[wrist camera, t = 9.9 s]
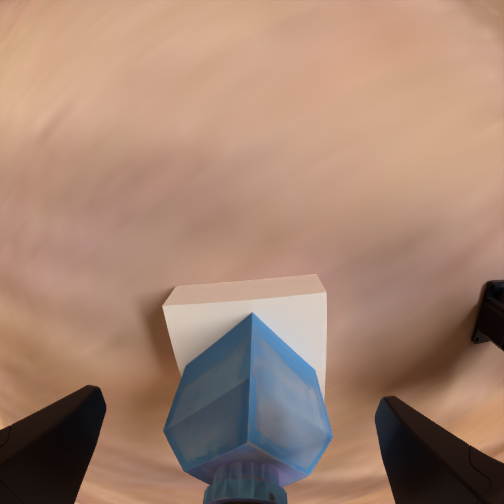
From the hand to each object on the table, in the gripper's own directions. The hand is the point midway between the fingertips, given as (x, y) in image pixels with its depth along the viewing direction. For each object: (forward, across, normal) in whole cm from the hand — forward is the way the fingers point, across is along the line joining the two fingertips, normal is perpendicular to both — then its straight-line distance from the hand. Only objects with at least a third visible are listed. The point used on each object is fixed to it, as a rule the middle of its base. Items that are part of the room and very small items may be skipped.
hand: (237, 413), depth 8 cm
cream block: (+14, 0, +6) cm, 15 cm away
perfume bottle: (+10, 0, +6) cm, 11 cm away
